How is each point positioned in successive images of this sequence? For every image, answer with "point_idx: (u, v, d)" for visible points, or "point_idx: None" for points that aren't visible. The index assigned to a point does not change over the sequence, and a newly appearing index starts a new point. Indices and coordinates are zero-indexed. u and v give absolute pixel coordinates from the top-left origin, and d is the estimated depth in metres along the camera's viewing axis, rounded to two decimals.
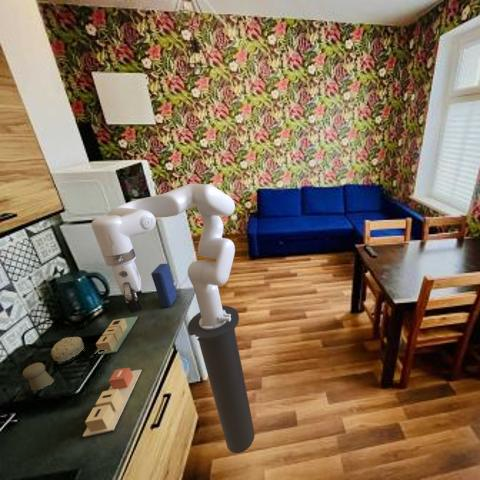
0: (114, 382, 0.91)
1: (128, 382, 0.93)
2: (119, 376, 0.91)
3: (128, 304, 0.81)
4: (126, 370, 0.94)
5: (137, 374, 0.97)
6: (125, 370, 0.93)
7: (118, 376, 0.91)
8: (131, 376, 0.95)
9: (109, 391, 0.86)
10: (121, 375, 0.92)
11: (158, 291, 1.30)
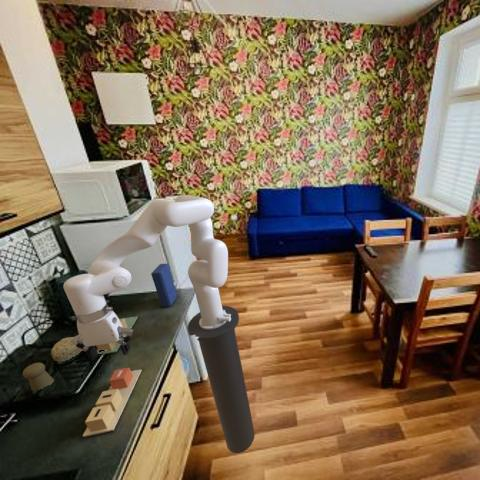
0: (114, 382, 0.91)
1: (128, 382, 0.93)
2: (119, 376, 0.91)
3: (123, 347, 0.87)
4: (126, 370, 0.94)
5: (137, 374, 0.97)
6: (125, 370, 0.93)
7: (118, 376, 0.91)
8: (131, 376, 0.95)
9: (109, 391, 0.86)
10: (121, 375, 0.92)
11: (158, 291, 1.30)
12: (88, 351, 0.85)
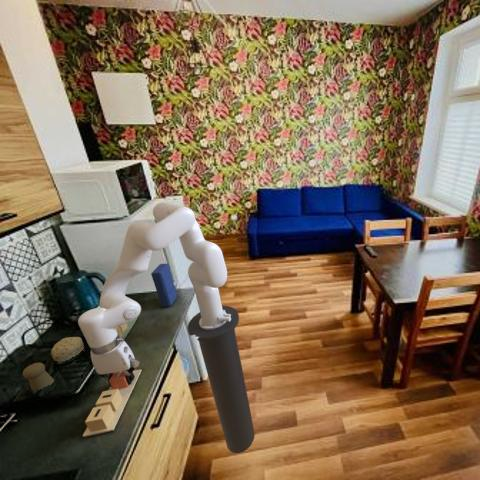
0: (114, 382, 0.91)
1: None
2: (119, 376, 0.91)
3: (128, 377, 0.92)
4: None
5: (137, 374, 0.97)
6: None
7: (118, 376, 0.91)
8: None
9: (109, 391, 0.86)
10: (121, 375, 0.92)
11: (158, 291, 1.30)
12: None
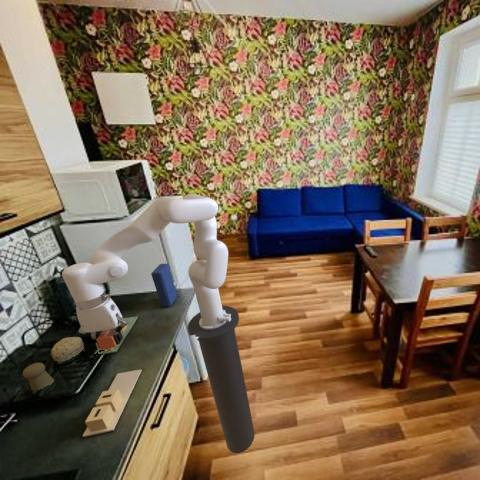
0: (101, 341, 0.89)
1: None
2: (106, 335, 0.90)
3: (116, 337, 0.91)
4: None
5: (137, 374, 0.97)
6: None
7: (105, 335, 0.90)
8: None
9: (109, 391, 0.86)
10: (109, 334, 0.90)
11: (158, 291, 1.30)
12: None
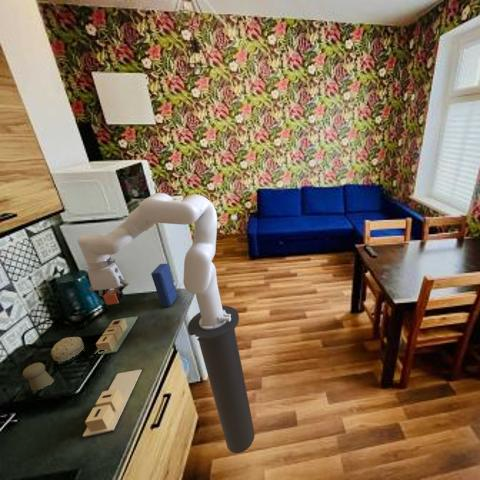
0: (107, 298, 1.11)
1: (118, 300, 1.14)
2: (111, 293, 1.12)
3: (118, 295, 1.13)
4: None
5: (137, 374, 0.97)
6: None
7: (110, 293, 1.12)
8: None
9: (109, 391, 0.86)
10: (113, 293, 1.12)
11: (158, 291, 1.30)
12: None
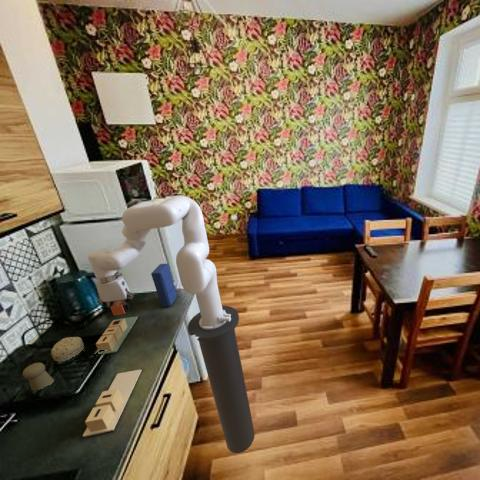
0: (114, 309, 1.18)
1: None
2: (117, 305, 1.19)
3: (125, 306, 1.20)
4: None
5: (137, 374, 0.97)
6: None
7: (117, 305, 1.19)
8: None
9: (109, 391, 0.86)
10: (119, 304, 1.19)
11: (158, 291, 1.30)
12: None
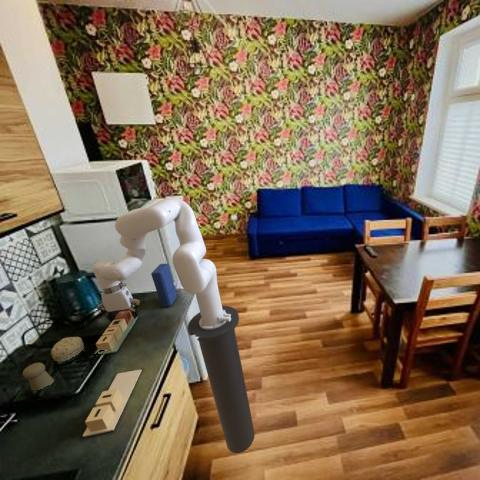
0: None
1: (129, 320, 1.23)
2: (122, 315, 1.21)
3: (133, 312, 1.22)
4: (127, 312, 1.23)
5: (137, 374, 0.97)
6: (127, 312, 1.23)
7: (121, 315, 1.21)
8: (131, 317, 1.25)
9: (109, 391, 0.86)
10: (123, 314, 1.22)
11: (158, 291, 1.30)
12: (109, 315, 1.20)
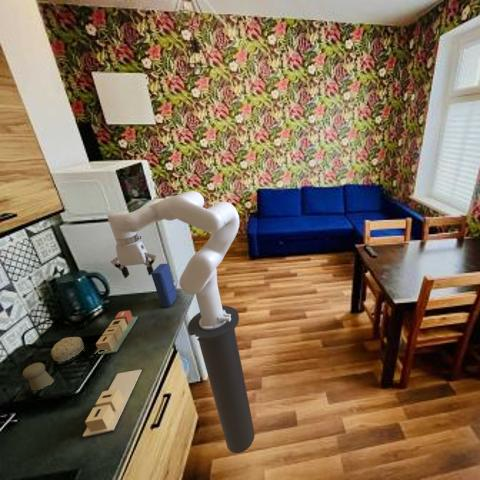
0: None
1: (129, 320, 1.23)
2: (122, 315, 1.21)
3: (148, 268, 1.17)
4: (127, 312, 1.23)
5: (137, 374, 0.97)
6: (127, 312, 1.23)
7: (121, 315, 1.21)
8: (131, 317, 1.25)
9: (109, 391, 0.86)
10: (123, 314, 1.22)
11: (158, 291, 1.30)
12: (123, 270, 1.15)
